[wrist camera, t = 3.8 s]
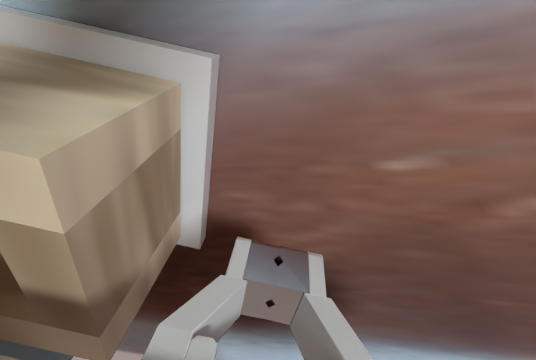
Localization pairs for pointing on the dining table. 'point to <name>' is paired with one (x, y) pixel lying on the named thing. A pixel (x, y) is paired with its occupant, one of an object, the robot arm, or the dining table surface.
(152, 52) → the grey l-shaped tray
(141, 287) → the block
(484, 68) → the dining table surface
